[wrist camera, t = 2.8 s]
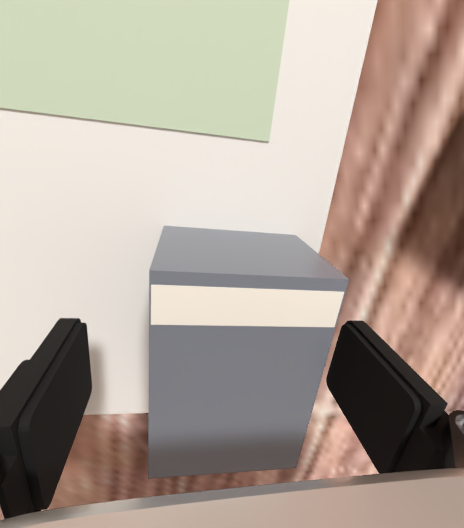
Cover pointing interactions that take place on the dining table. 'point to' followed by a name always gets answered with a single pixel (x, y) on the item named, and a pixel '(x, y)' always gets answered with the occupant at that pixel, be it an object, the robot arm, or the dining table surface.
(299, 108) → the mat
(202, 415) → the card box
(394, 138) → the dining table surface
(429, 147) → the dining table surface
